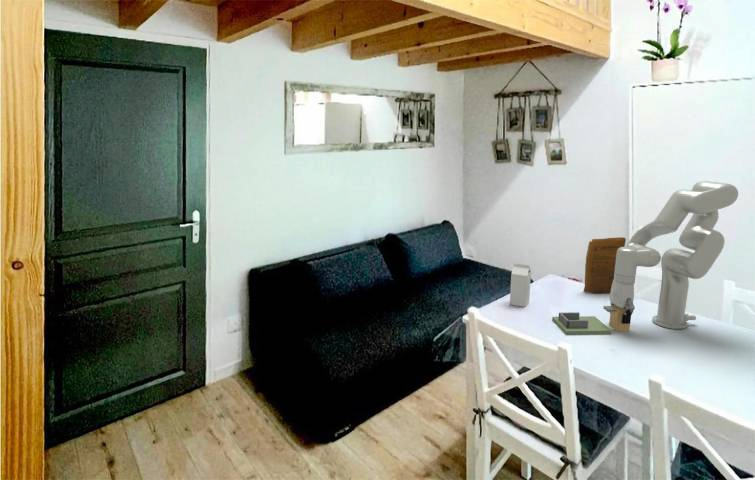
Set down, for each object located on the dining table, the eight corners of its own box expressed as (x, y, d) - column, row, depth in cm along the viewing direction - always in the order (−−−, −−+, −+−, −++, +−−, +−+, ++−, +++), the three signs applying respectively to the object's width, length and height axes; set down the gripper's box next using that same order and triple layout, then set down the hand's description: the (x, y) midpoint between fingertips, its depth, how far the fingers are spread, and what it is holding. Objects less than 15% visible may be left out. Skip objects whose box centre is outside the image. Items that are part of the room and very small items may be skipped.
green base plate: (594, 319, 203) (595, 309, 202) (611, 334, 189) (612, 323, 188) (552, 320, 203) (552, 310, 202) (565, 334, 189) (566, 323, 188)
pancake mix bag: (623, 294, 234) (629, 238, 228) (584, 294, 234) (589, 238, 228) (616, 289, 241) (622, 235, 235) (578, 290, 241) (583, 235, 235)
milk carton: (525, 307, 218) (527, 267, 214) (509, 304, 222) (511, 265, 217) (529, 302, 224) (531, 263, 220) (513, 300, 227) (516, 261, 223)
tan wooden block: (622, 325, 197) (624, 304, 195) (629, 330, 192) (631, 309, 190) (600, 325, 197) (602, 304, 195) (606, 330, 192) (609, 309, 190)
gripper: (604, 272, 198) (600, 311, 202) (626, 285, 181) (621, 327, 185) (622, 272, 198) (618, 311, 202) (645, 285, 181) (640, 327, 185)
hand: (619, 318), depth 194 cm, fingers open, 9 cm apart
